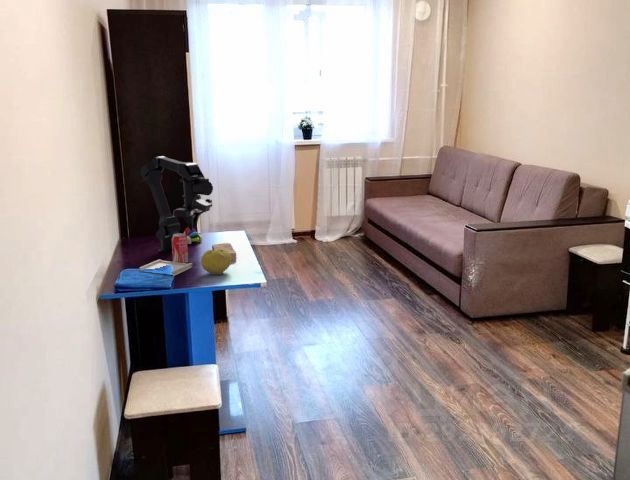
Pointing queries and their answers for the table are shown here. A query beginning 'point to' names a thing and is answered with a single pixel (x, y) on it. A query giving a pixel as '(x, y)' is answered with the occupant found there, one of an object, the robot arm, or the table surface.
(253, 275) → the table surface
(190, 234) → the multicoloured layered toy figurine
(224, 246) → the brick
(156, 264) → the tray
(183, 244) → the beverage can
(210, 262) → the fruit
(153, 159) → the robot arm
